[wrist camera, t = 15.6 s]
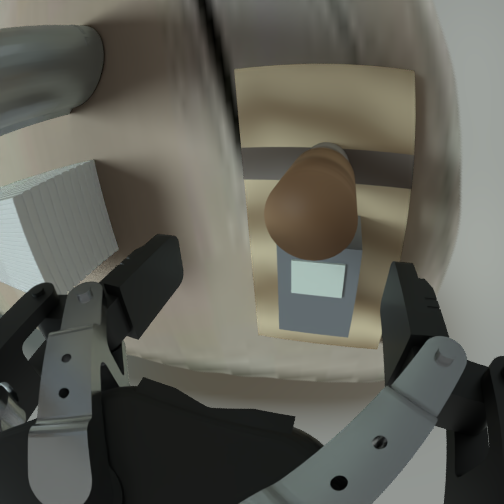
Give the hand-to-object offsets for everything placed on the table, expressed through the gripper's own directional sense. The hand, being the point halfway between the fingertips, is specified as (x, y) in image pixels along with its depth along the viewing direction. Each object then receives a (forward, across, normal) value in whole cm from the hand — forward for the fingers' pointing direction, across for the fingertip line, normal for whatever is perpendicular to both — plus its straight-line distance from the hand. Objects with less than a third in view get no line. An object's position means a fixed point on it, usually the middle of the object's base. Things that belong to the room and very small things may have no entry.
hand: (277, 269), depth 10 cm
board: (+12, -2, +4) cm, 13 cm away
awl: (+11, -1, -2) cm, 11 cm away
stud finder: (+11, -2, +6) cm, 13 cm away
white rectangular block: (+14, +37, +5) cm, 40 cm away
